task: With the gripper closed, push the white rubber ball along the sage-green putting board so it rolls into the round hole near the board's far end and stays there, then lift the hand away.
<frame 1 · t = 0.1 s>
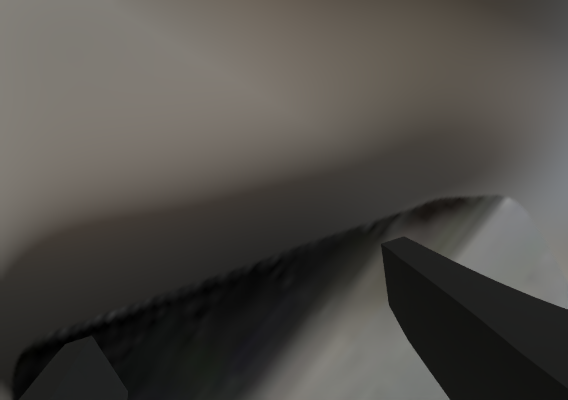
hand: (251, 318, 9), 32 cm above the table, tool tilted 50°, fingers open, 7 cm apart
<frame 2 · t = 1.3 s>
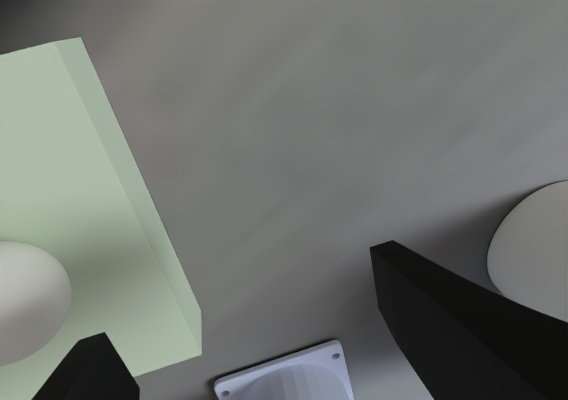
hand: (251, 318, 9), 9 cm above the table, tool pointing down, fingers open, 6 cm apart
candle holder: (543, 239, 24), on the table
ball: (2, 301, 13), point 5 cm above the table, touching putting board
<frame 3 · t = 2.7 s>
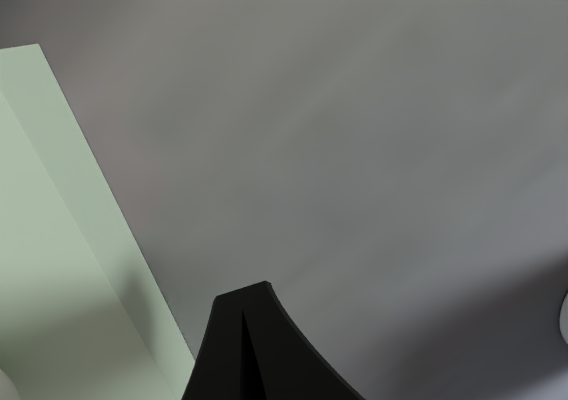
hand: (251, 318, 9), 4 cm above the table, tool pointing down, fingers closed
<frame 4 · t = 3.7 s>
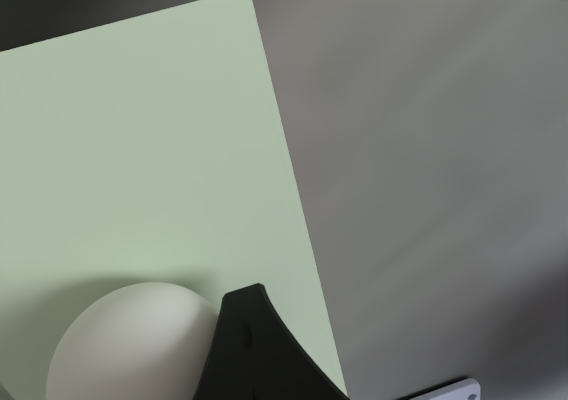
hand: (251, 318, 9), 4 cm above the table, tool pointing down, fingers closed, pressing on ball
ball: (148, 371, 9), point 5 cm above the table, touching gripper, putting board
putting board: (6, 303, 13), on the table
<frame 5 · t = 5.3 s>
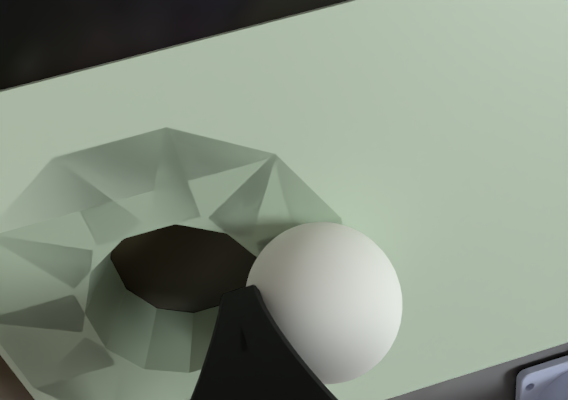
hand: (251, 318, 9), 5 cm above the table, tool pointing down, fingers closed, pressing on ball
ball: (321, 298, 10), point 5 cm above the table, tilted 164°, touching gripper, putting board
putting board: (303, 220, 15), on the table
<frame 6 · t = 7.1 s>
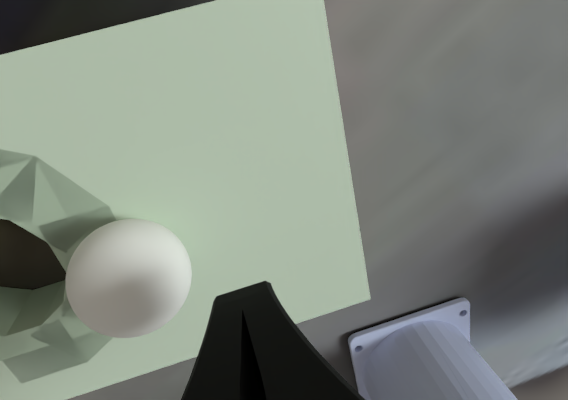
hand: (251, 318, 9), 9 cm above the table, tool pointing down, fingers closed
ball: (132, 276, 13), point 5 cm above the table, tilted 127°, touching putting board
putting board: (118, 209, 17), on the table
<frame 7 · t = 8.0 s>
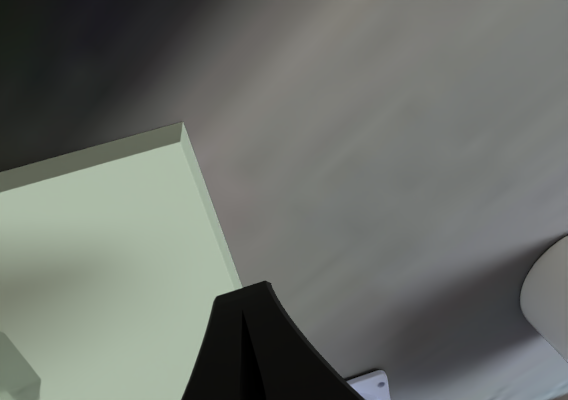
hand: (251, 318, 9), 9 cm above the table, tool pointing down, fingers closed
putting board: (31, 314, 19), on the table
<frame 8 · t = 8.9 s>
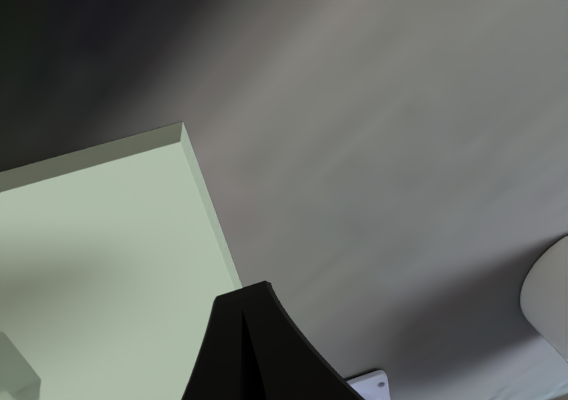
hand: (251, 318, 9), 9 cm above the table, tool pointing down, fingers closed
putting board: (31, 314, 19), on the table
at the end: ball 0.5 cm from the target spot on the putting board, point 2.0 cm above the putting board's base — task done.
